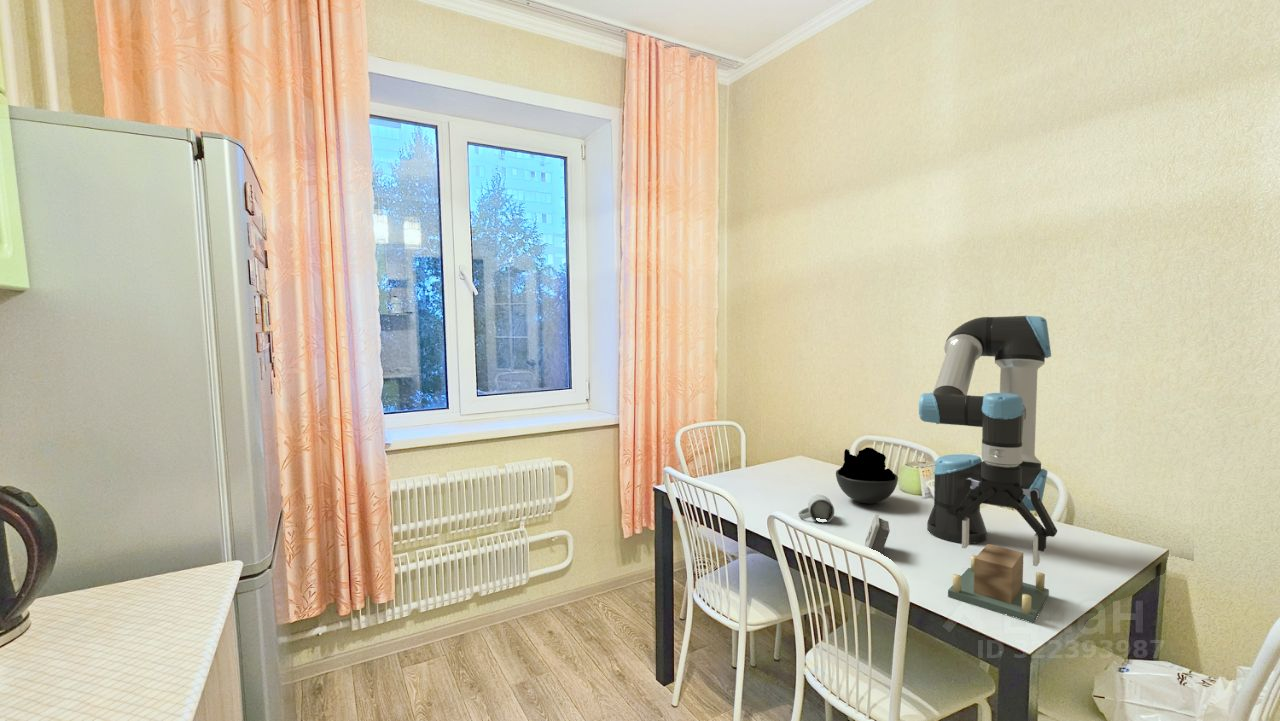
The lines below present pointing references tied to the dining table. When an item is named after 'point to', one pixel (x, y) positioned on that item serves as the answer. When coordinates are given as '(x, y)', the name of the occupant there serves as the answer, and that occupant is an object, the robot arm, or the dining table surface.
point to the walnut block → (998, 573)
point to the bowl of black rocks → (866, 477)
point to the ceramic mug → (818, 509)
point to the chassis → (1021, 607)
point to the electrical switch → (877, 534)
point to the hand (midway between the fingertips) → (999, 555)
